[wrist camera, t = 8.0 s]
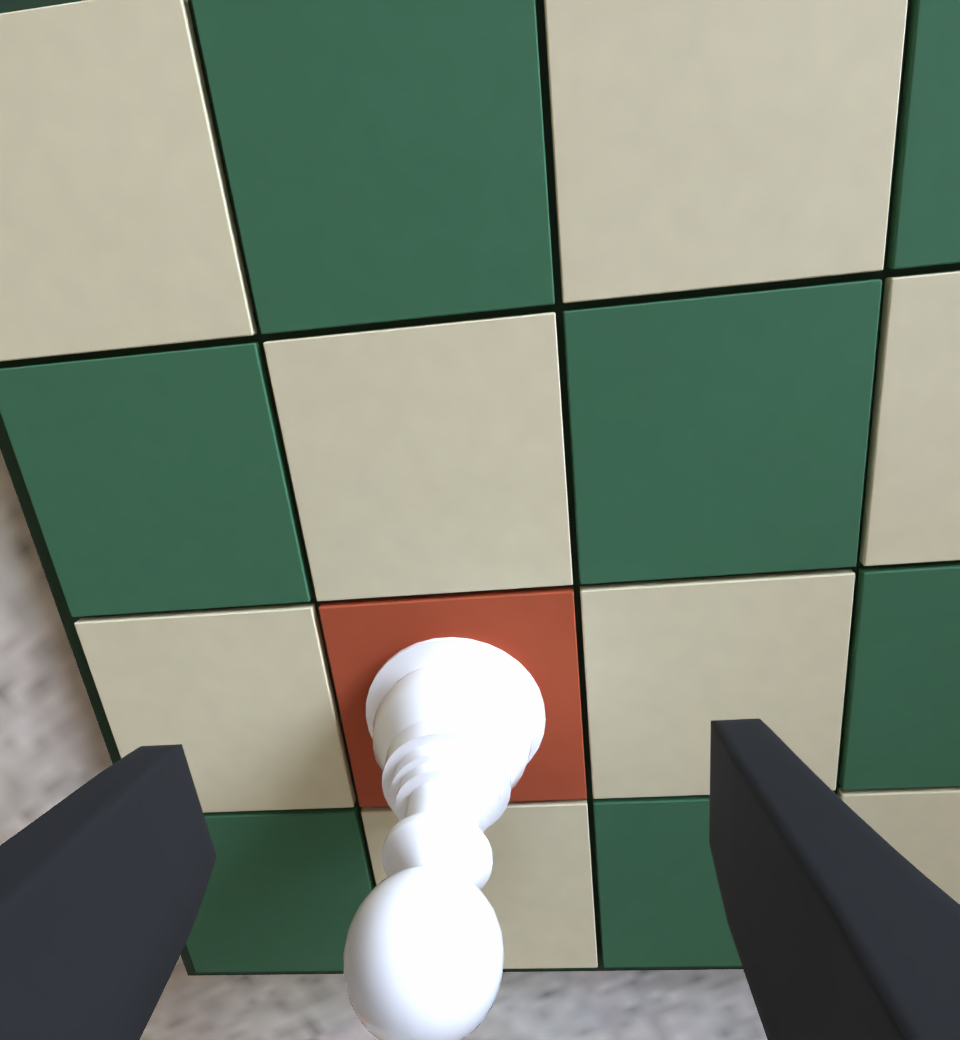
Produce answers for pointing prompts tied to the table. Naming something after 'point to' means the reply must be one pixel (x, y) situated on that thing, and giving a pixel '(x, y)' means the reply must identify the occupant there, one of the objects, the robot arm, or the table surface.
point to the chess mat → (494, 422)
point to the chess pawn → (439, 836)
